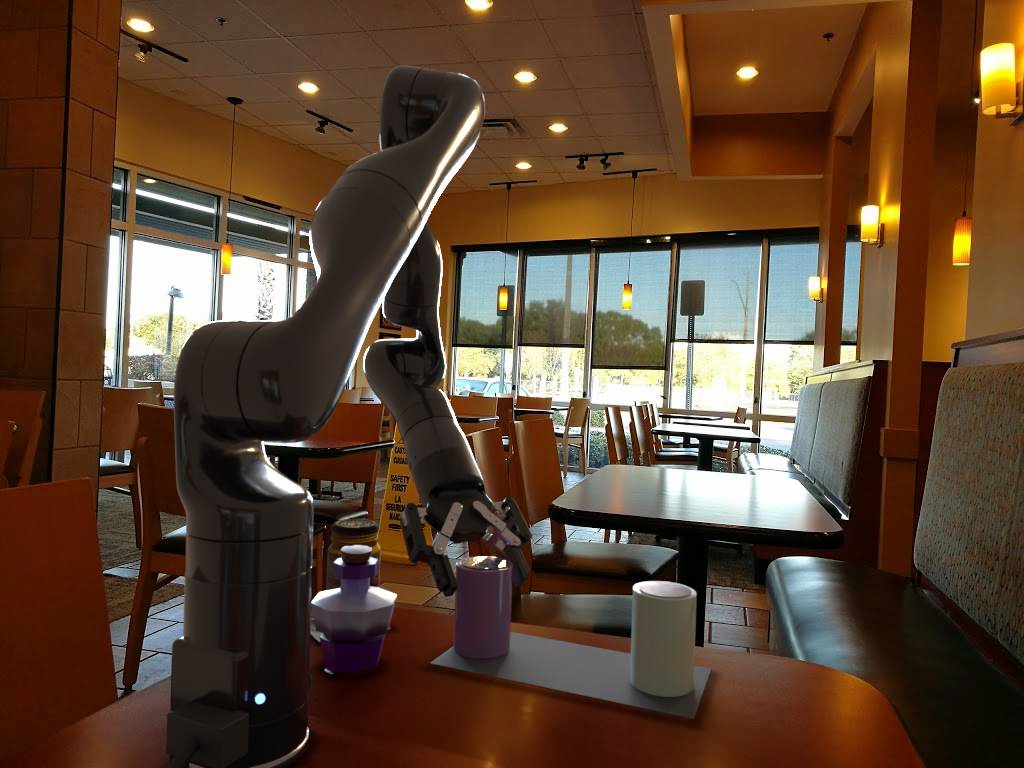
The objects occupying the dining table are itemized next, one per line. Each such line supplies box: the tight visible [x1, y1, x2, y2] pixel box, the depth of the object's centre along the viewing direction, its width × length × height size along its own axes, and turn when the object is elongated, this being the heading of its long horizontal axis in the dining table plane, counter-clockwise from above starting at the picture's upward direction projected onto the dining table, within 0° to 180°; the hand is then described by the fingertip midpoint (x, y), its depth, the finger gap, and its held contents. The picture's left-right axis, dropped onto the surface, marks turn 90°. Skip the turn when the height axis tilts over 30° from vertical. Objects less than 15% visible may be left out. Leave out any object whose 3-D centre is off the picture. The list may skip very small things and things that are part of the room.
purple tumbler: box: [453, 555, 513, 659], centre depth 77 cm, size 6×6×9 cm
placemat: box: [429, 631, 713, 720], centre depth 73 cm, size 12×26×1 cm, turn 67°
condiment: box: [310, 518, 392, 643], centre depth 84 cm, size 7×8×12 cm
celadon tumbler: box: [629, 580, 698, 697], centre depth 70 cm, size 6×6×9 cm
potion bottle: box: [311, 545, 398, 676], centre depth 73 cm, size 9×9×12 cm
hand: (488, 587), depth 76 cm, fingers open, 8 cm apart
